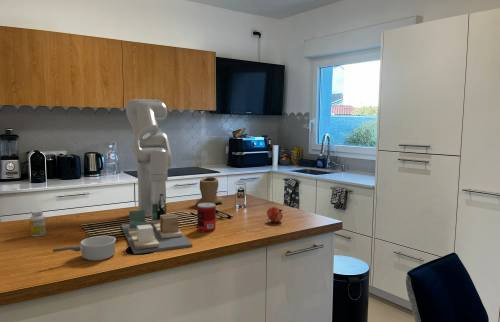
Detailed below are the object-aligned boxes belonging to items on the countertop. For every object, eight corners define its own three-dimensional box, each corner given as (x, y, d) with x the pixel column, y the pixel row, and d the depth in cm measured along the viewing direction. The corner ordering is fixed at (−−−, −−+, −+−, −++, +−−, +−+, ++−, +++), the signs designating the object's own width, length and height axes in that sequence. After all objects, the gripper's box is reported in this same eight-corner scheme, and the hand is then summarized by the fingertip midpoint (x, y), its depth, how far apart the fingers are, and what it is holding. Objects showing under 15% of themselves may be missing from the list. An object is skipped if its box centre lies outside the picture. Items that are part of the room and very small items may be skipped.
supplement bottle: (31, 233, 159) (30, 209, 158) (46, 232, 161) (45, 209, 160) (29, 237, 154) (28, 213, 153) (44, 235, 156) (43, 212, 155)
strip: (150, 222, 173) (149, 204, 172) (167, 220, 177) (167, 203, 176) (162, 238, 151) (161, 218, 150) (182, 235, 154) (182, 216, 153)
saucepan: (49, 261, 130) (48, 245, 129) (108, 248, 143) (108, 233, 142) (59, 271, 121) (58, 254, 121) (121, 257, 134) (121, 241, 134)
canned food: (218, 227, 171) (218, 203, 169) (211, 233, 163) (211, 207, 162) (201, 226, 173) (201, 201, 172) (194, 231, 165) (194, 205, 164)
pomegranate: (265, 227, 180) (279, 217, 174) (258, 213, 183) (273, 203, 177) (275, 226, 186) (289, 216, 180) (268, 212, 188) (283, 202, 183)
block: (137, 238, 146) (136, 225, 146) (150, 237, 148) (150, 224, 148) (139, 242, 142) (139, 229, 141) (153, 241, 144) (153, 227, 143)
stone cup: (202, 207, 208) (202, 179, 206) (194, 202, 219) (194, 176, 217) (227, 204, 215) (228, 177, 214) (219, 200, 226) (219, 174, 224)
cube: (160, 229, 159) (160, 215, 158) (174, 227, 161) (174, 213, 160) (163, 233, 153) (163, 218, 152) (178, 231, 156) (178, 217, 155)
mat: (121, 226, 170) (121, 224, 170) (169, 221, 179) (169, 219, 179) (134, 254, 137) (134, 251, 137) (192, 246, 146) (192, 244, 146)
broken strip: (127, 230, 160) (126, 211, 159) (146, 228, 164) (146, 209, 163) (136, 249, 138) (136, 227, 137) (159, 246, 142) (159, 225, 141)
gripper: (146, 174, 178) (147, 213, 180) (154, 180, 163) (154, 223, 165) (163, 174, 181) (163, 212, 183) (172, 179, 166) (172, 221, 168)
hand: (159, 217), depth 174 cm, fingers open, 5 cm apart
